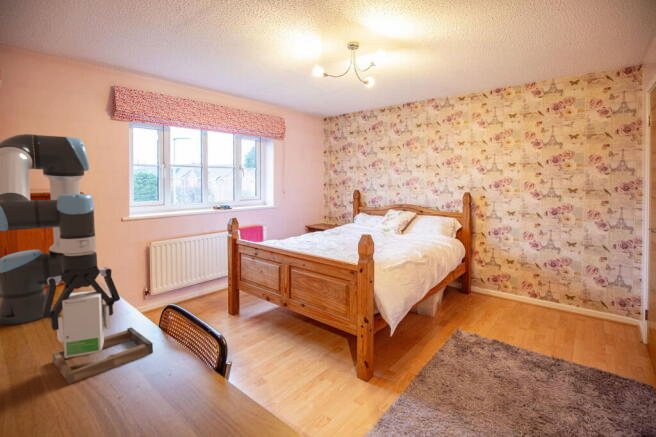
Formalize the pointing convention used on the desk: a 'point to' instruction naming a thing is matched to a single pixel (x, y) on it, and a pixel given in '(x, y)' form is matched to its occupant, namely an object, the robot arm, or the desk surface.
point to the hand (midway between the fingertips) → (84, 333)
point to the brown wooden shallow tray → (111, 361)
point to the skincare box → (83, 324)
